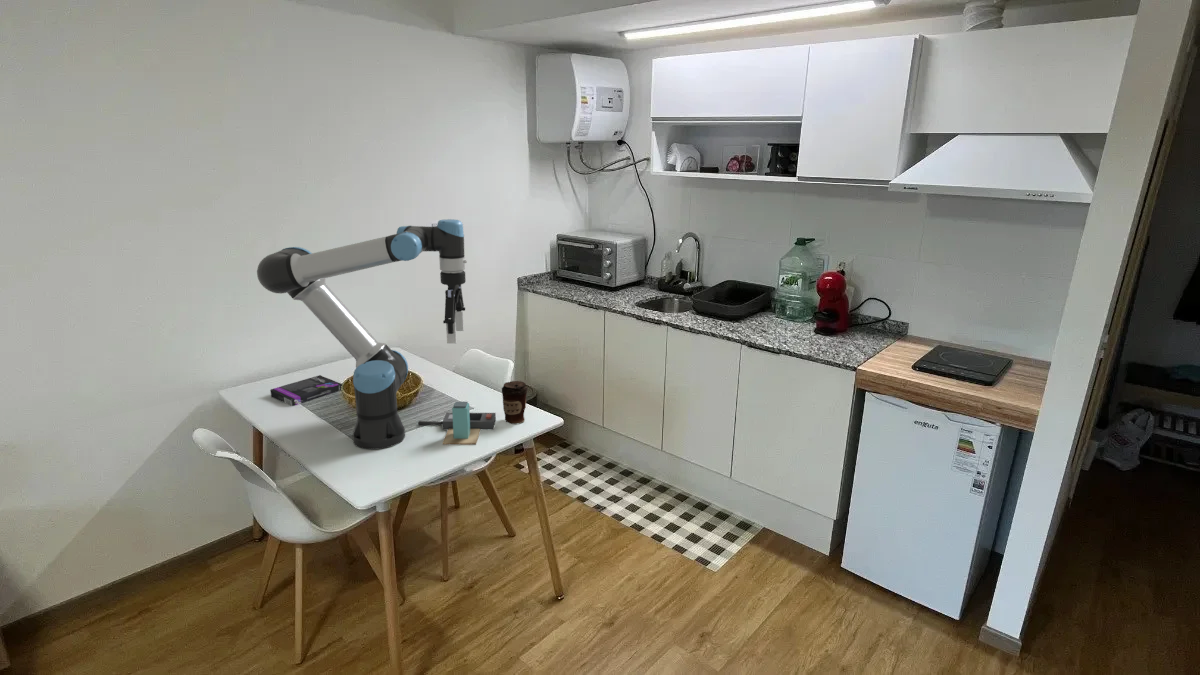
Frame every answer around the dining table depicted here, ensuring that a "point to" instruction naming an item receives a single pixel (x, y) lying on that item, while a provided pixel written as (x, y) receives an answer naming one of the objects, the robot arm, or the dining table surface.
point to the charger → (461, 420)
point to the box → (305, 390)
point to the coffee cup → (514, 401)
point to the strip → (476, 421)
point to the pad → (470, 441)
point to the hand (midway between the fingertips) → (455, 336)
